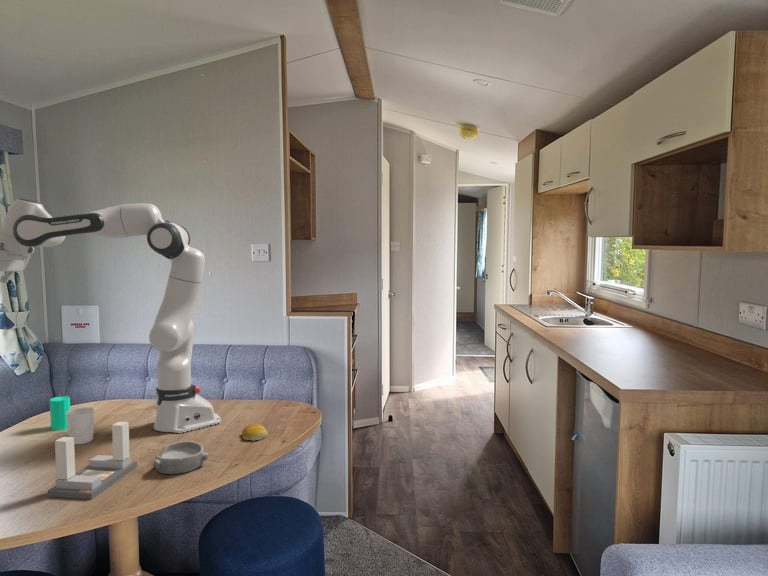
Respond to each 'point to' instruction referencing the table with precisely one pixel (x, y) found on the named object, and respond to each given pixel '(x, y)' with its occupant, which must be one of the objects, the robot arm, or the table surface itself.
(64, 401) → the candle
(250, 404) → the table surface
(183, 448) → the dish
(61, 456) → the front knob
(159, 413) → the robot arm
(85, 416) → the white cup
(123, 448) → the rear knob
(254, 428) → the bread roll
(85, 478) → the switch box
